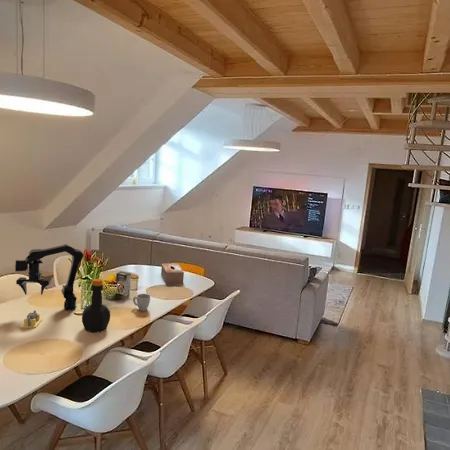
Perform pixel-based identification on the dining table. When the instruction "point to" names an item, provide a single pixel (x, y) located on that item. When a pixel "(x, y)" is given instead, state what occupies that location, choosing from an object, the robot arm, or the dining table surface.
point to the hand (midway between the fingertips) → (33, 294)
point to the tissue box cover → (172, 273)
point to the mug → (142, 301)
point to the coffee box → (124, 281)
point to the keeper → (31, 322)
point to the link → (32, 316)
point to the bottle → (96, 311)
